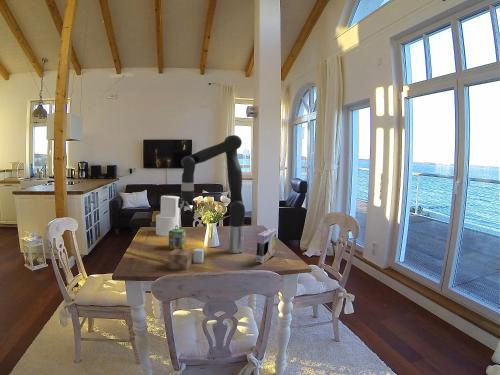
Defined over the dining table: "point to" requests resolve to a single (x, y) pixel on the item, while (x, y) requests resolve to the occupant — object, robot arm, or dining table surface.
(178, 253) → the walnut box
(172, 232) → the green tin canister
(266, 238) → the cake pan box
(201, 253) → the block
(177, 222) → the white stepped tower
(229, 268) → the dining table surface
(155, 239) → the dining table surface
